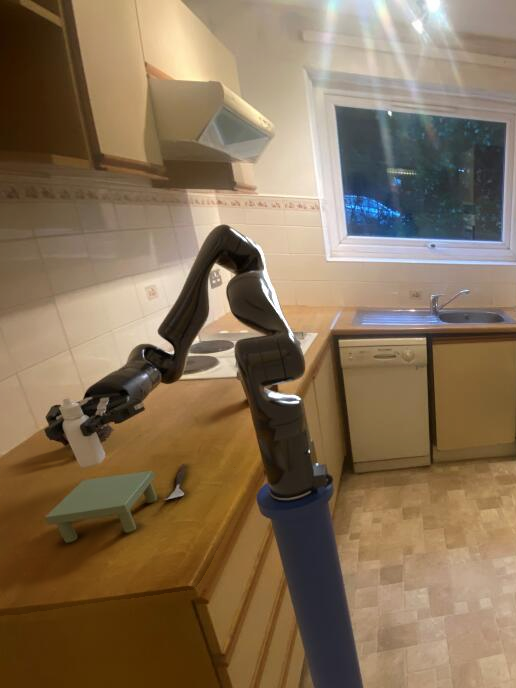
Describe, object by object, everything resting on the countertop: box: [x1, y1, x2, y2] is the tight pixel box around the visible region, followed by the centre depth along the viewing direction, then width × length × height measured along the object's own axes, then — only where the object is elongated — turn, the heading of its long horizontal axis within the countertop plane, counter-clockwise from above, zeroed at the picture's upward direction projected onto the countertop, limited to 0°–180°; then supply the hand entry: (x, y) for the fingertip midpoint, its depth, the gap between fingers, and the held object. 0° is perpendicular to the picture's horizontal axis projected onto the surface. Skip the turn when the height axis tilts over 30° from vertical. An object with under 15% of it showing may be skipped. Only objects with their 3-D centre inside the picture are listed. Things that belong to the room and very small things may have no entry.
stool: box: [44, 470, 158, 544], centre depth 79 cm, size 11×11×6 cm
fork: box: [163, 463, 185, 501], centre depth 89 cm, size 3×16×2 cm, turn 29°
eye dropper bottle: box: [59, 397, 106, 469], centre depth 74 cm, size 4×6×12 cm
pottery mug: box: [45, 424, 115, 447], centre depth 102 cm, size 12×10×8 cm
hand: (67, 432), depth 71 cm, fingers closed on eye dropper bottle, 4 cm apart
